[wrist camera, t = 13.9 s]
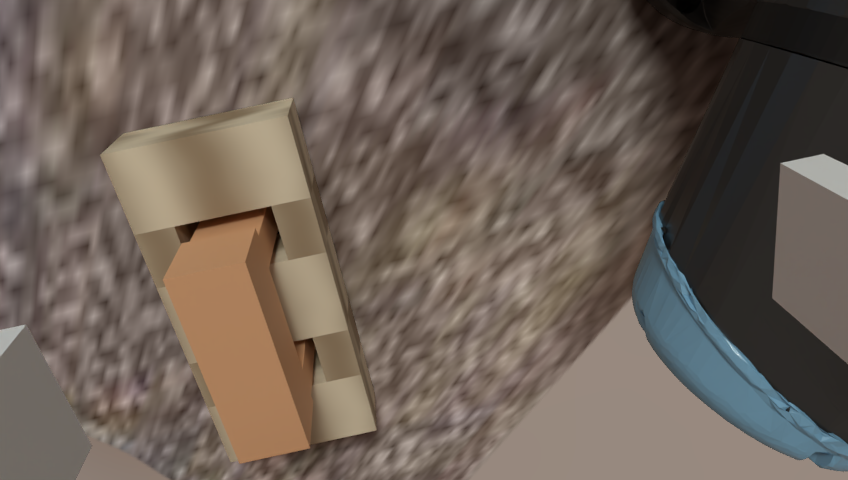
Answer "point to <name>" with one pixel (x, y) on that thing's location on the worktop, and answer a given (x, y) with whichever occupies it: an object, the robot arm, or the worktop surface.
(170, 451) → the worktop surface
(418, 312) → the worktop surface
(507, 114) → the worktop surface
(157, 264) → the beige flat slotted piece
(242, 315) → the orange-brown block
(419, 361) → the worktop surface
